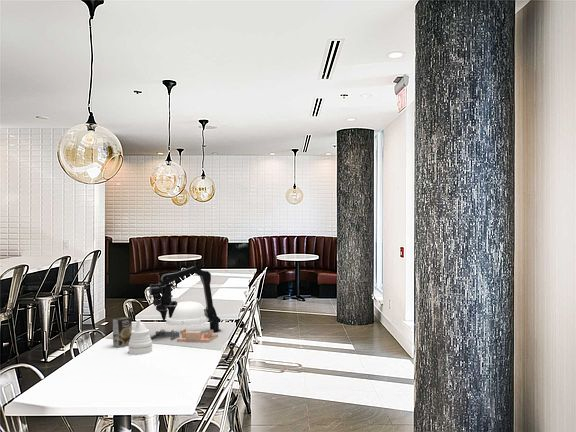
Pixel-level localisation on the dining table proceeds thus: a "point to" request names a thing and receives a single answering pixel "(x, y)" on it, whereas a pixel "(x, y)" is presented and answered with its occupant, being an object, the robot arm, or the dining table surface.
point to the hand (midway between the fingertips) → (167, 319)
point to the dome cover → (187, 314)
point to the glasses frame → (166, 334)
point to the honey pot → (140, 340)
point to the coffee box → (122, 331)
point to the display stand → (196, 336)
